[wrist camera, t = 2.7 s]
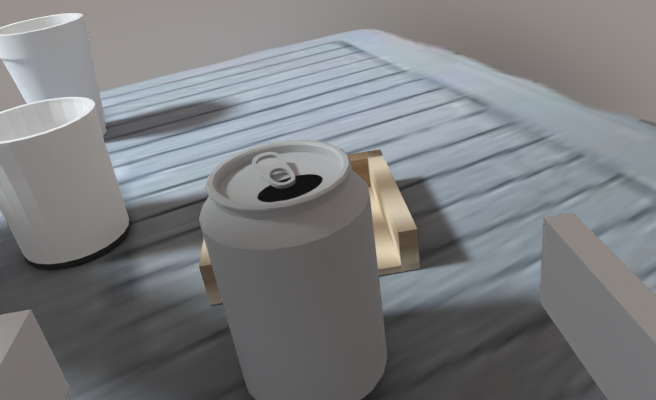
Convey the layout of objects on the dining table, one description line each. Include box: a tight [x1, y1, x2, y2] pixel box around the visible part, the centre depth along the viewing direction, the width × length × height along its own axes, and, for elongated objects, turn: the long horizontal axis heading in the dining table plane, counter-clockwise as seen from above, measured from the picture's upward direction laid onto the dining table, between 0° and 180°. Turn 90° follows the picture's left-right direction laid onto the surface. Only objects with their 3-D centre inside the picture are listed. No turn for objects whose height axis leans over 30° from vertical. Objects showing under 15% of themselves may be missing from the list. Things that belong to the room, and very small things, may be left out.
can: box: [199, 140, 388, 400], centre depth 27 cm, size 8×8×12 cm
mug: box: [0, 97, 130, 270], centre depth 43 cm, size 11×9×10 cm
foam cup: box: [0, 13, 107, 136], centre depth 63 cm, size 10×9×13 cm
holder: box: [199, 150, 420, 305], centre depth 41 cm, size 12×13×3 cm
